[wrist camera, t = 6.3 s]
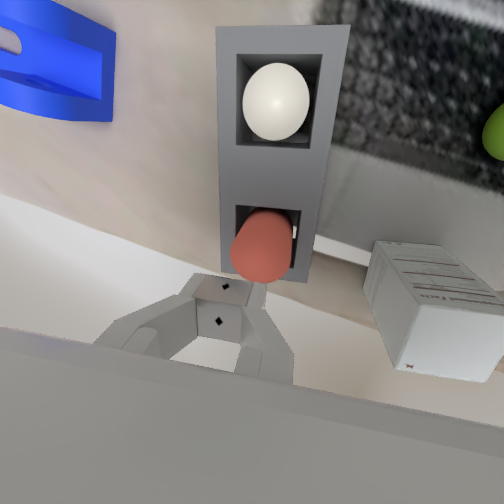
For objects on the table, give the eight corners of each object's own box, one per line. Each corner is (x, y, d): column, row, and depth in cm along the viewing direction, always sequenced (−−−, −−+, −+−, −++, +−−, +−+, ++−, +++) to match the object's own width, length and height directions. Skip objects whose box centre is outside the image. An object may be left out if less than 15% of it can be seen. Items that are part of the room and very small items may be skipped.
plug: (310, 78, 23) (314, 63, 17) (303, 138, 25) (304, 142, 19) (257, 78, 23) (243, 62, 18) (255, 136, 26) (242, 138, 20)
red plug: (295, 207, 24) (294, 232, 19) (290, 252, 27) (287, 286, 21) (246, 202, 25) (229, 225, 19) (244, 247, 27) (230, 279, 22)
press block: (336, 54, 22) (350, 24, 16) (305, 250, 32) (307, 283, 25) (239, 54, 24) (215, 26, 17) (237, 242, 33) (221, 272, 26)
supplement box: (421, 295, 32) (485, 387, 21) (360, 288, 33) (391, 371, 22) (443, 243, 28) (534, 319, 17) (375, 237, 29) (419, 305, 18)
